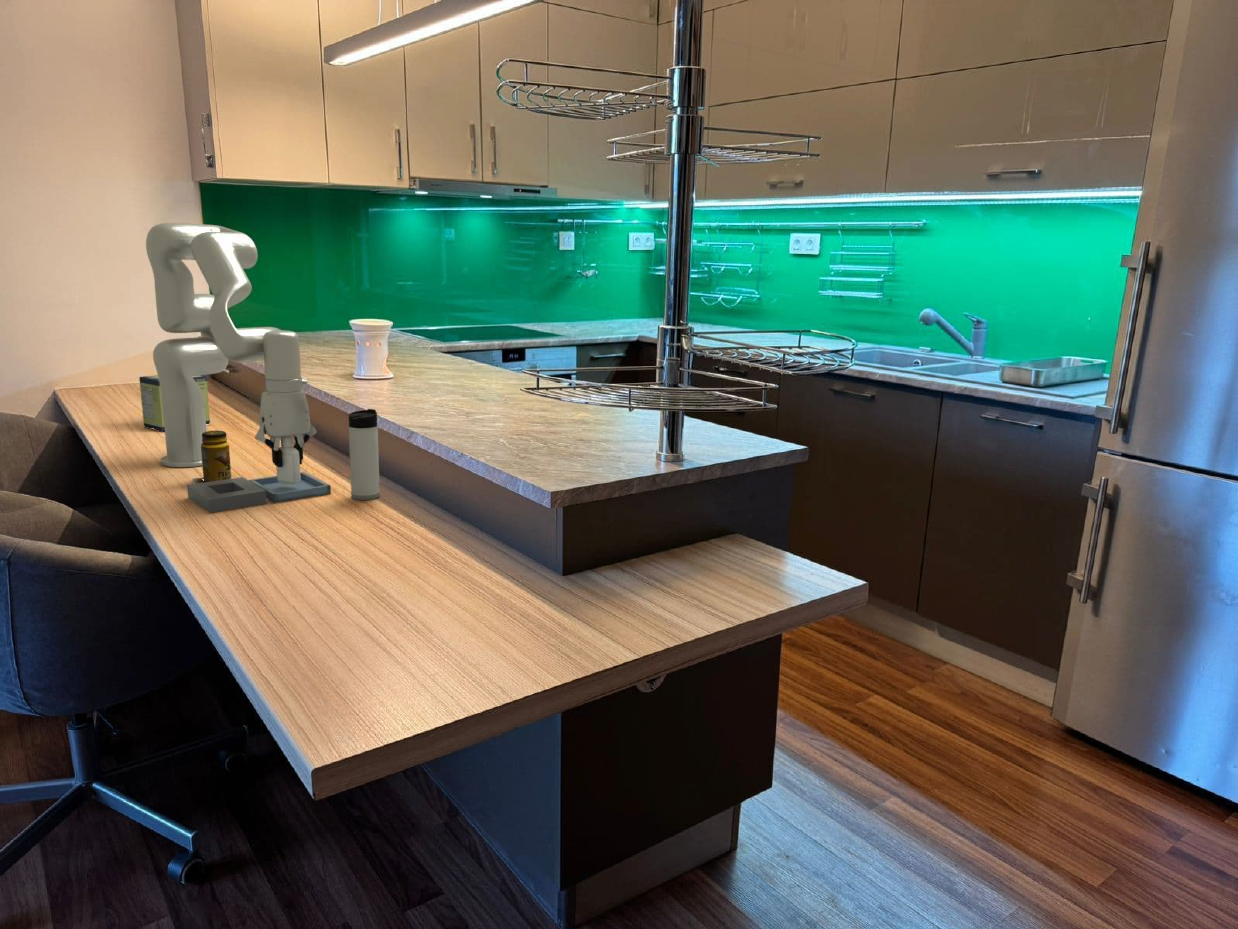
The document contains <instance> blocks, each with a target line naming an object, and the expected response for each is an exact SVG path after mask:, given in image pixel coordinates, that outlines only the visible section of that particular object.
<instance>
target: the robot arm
mask: <svg viewBox="0 0 1238 929" xmlns="http://www.w3.org/2000/svg"><path fill="white" fill-rule="evenodd" d="M145 249H146V253H147V254H146V256H147V258H148V261H149V263H150V266H151V270H152V273H153V280H154V293H155V294H154V296H155V305H156V316H157V322H158V325H159V327H160V328H161V329H162V330H163V331H164V332H167V333H170V334H186V333H187V334H188V333H189V334H190V333H200V337H197V336H196V337H181V338H180V337H179V338H169V339H166V340H163V341H160V342H159V343H157V344H156V345H155V347H154V349H153V352H152V359H153V363H154V366H155V369H156V370H155V371H156V373H157V374H156V375H158V378H159V382H160V388H161V397H162V407H163V417H164V428H165V432H164V436H165V446H166V447H165V448H166V455H165V456H162V457H161V458H160V464H161V465H162V466H165V467H169V468H190V467H191V468H192V467H193V468H194V467H200V466H203V465H202V453H201V444H202V443H203V442H202V439H203V438H202V433H204V432H206V431H207V426H206V419H205V406H204V396H203V392H202V390H201V388H200V387H199V385H198V384H197V383H196V382H195V381H194V379H193V376H197V375H205V376H206V375H213V374H219V373H221V372H223V371H225V370H226V369H227V367H228V364H229V361H231V362H234V363H247V362H249V363H250V362H258V361H264V363H263V364H264V366H263V367H264V379H265V391H264V392H262V393H261V398H260V407H259V408H260V410H259V428H258V430H257V432H256V434H255V436H254V439H255V440H257V441H259V442H261V443H263V444H265V445H266V446H268V447H269V449H271V460H272V464H274V466H275V467H276V466H277V467H282V466H283V463H282V451H281V450H280V447H281V437H285V436H291V437H292V439H293V441H294V445H292V447H294V448H296V449H297V450H298V452H299V460H300V466H301V465H303V460H304V448H305V446H306V445H305V444H306V443H307V442H308V441H309V440H310V438H312V437H313V436H315V435H316V434H317V429H316V428H315V426H314V425H313V424H312V422H311V418H310V411H309V410H310V409H309V403H308V401H307V397H306V393H305V391H304V390H303V387H304V386H307V385H308V381H307V379H303V378H302V375H301V374H302V373H301V372H302V371H301V353H300V351H301V350H300V338H299V335H298V333H296V332H295V331H292V330H282V329H280V328H277V327H273V326H258V327H256V326H255V327H254V326H253V327H239V328H237V327H235V324H234V322H233V321H232V319H231V317H230V315H229V309H230V308H231V307H234V306H235V305H237V304H239V303H241V302H243V301H244V300H246V298H247V297H248V296H249V295H250V294H251V292H252V289H253V288H252V287H253V286H252V284H251V281H250V280H249V278H248V276H247V274H246V272H245V269H246V270H249V269H251V268H252V267H254V266H255V265H256V263H257V262H258V257H259V256H258V249H257V246H256V244H255V242H254V241H253V239H252V238H251V237H250V236H248V235H247V234H246V233H244V232H241V231H238V230H234V229H231V228H227V227H225V226H221V225H217V224H216V225H214V224H203V223H201V224H200V223H199V224H198V223H189V222H187V223H185V222H164V223H159V224H155V225H154V226H152V227H151V228H150V229H149V230H148V233H147V235H146V239H145ZM183 260H184V261H186V260H187V261H190V260H191V261H195V262H196V264H197V266H198V268H199V270H200V272H201V274H202V276H203V278H204V280H205V281H206V283H207V285H208V287H209V290H210V292H211V293H212V294H210V293H209V294H208V293H195V287H194V284H195V283H194V277H193V274H192V272H191V271H190V269H189V267H188V266H187V264H185V262H184V261H183ZM265 435H267V437H269V438H267V437H266V436H265Z"/></svg>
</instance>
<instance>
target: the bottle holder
mask: <svg viewBox="0 0 1238 929" xmlns="http://www.w3.org/2000/svg"><path fill="white" fill-rule="evenodd" d="M186 487H187V488H186V489H187V499H189V500H190V501H191V500H192V501H191V502H193V503H194V504H196V505H197V506H198V507H200V508H202V509H203V510H204V511H205V512H207V513H208V514H215V513H222V512H226V511H233V510H238V509H244V507H245V508H250V507H257V506H263V505H267V504H268V503H267V502H268V499H267V498H266V491H265V490H264V489H262V488H260V487H259V486H257V485H255V484H253V483H252V482H250V481H249V479H247V478H245V477H243V476H241V477H235V478H232V479H226V480H219V481H212V482H205V483H198V484H194V483H193V484H187V485H186Z"/></svg>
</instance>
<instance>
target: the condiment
mask: <svg viewBox="0 0 1238 929" xmlns="http://www.w3.org/2000/svg"><path fill="white" fill-rule="evenodd" d="M202 438H203V439H202V442H203V443H202V444H201V453H202V465H201V466H202V475H203V477H194V478H191V480H192V482H193V484H194V483H195V484H198V483H205V482H212V481H219V480H226V479H233V478H232V467H231V456H230V444H229V442H228V441H227V440H228V438H227V432H226V431H225V430H224V431H223V430H216V429H215V430H208V431H207V430H206V432H204V433H202ZM202 479H204V481H203V480H202Z"/></svg>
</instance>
